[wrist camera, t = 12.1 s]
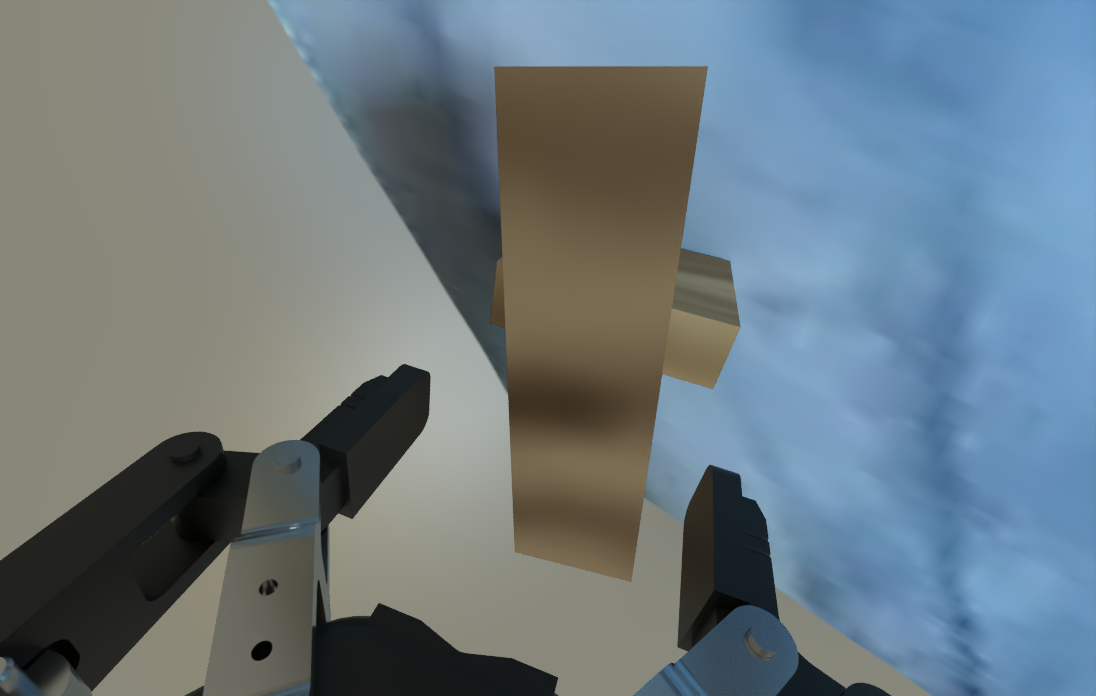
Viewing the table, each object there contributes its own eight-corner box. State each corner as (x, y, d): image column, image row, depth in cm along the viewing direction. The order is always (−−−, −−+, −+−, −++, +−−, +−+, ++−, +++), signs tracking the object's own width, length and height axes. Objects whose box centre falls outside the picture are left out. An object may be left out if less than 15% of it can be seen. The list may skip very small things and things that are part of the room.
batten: (549, 71, 16) (494, 66, 11) (706, 71, 15) (707, 66, 10) (546, 471, 25) (514, 552, 20) (643, 492, 23) (631, 581, 19)
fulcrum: (549, 215, 26) (497, 260, 20) (730, 261, 25) (740, 327, 18) (541, 265, 28) (489, 323, 21) (710, 311, 26) (713, 389, 20)
